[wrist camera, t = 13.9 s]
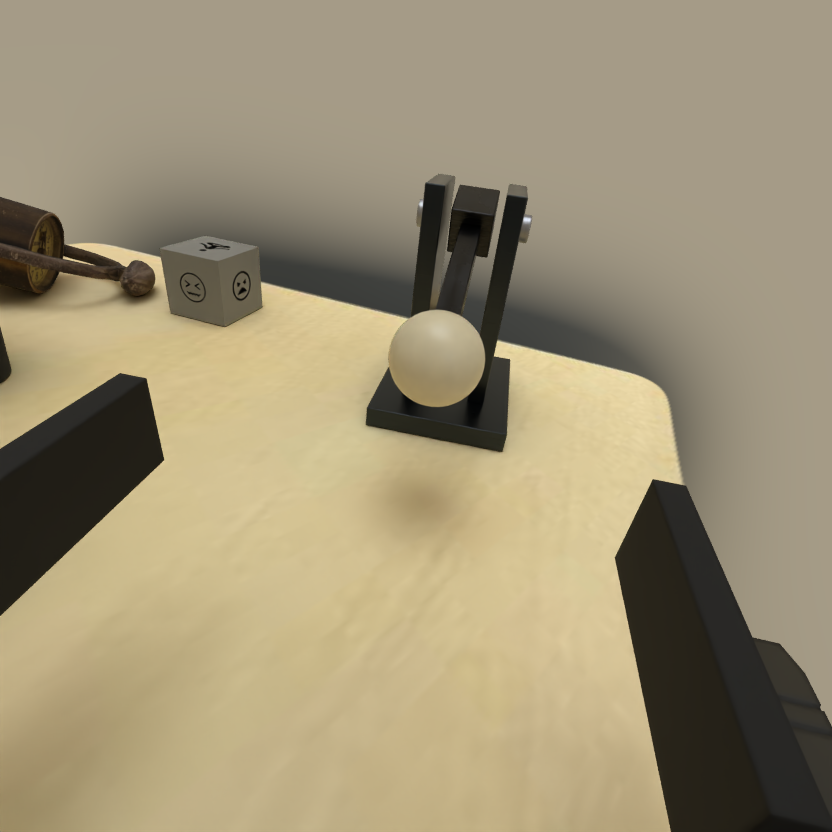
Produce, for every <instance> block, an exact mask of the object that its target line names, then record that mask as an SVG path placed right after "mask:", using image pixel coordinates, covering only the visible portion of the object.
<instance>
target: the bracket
mask: <svg viewBox="0 0 832 832" xmlns="http://www.w3.org/2000/svg"><path fill="white" fill-rule="evenodd" d="M454 184H455V176H451V175H444V174H438V175H436V176H435V177H434V178H432V179H431V180H429V181H428V182H426V183H425V192H424V199H421V200H420V202H419V205H418V210H417V220H416V223H417V226H418V227H420V237H419V246H418V255H417V264H416V273H415V282H414V291H413V300H412V310H411V317H413V316H414V315H416V314H419V313H421V312H425V311H429V310H435V309H436V305H437V302H438V299H439V292H440V285H441V278H442V271H443V263H444V256H445V249H446V241H447V235H448V227H449V220H450V213H451V206H452V199H453V198H452V197H453V191H454ZM527 200H528V196H527V187H526V186H520V185H513V184H510V185H509V188H508V193H507V198H506V203H505V209H504V213H503V219H502V223H501V229H500V234H499V239H498V244H497V249H496V254H495V259H494V265H493V270H492V275H491V280H490V285H489V290H488V295H487V301H486V306H485V311H484V317H483V321H482V327H481V331H480V338H481V340H482V343H483V346H484V351H485V365H484V370H483V374H482V377H481V379H480V381H479V383H478V384H477V386H476V387H475V389H474V390H473V391H472V392H471V393H470V394H469V395H468V396H467V397H465V398H464V399H463V400H461V401H459V402H457V403H454V404H452V405H449V406H444V407H430V406H425V405H421V404H418V403H416V402H414V401H412V400H411V399H409V398H408V397H407V396H405V395H404V394H403V393H402V392H401V391H400V389H399V388H398V387H397V385H396V384H395V382H394V380H393V378H392V376H391V372H390V369H389V367H388V369H387V371H386V373H385V375H384V377H383V379H382V381H381V382H380V384H379V386H378V388H377V390H376V392H375V394H374V396H373V398H372V399H371V401H370V403H369V405H368V407H367V415H366V425H370V426H375V427H380V428H385V429H390V430H395V431H400V432H405V433H410V434H415V435H421V436H426V437H431V438H436V439H441V440H446V441H451V442H456V443H461V444H466V445H471V446H476V447H481V448H486V449H491V450H496V451H501V452H502V451H503V447H504V443H505V440H506V436H507V417H508V396H509V375H510V359H505V358H499V357H494V353H495V348H496V343H497V339H498V334H499V330H500V325H501V320H502V315H503V311H504V306H505V302H506V297H507V292H508V288H509V283H510V279H511V274H512V270H513V265H514V260H515V255H516V251H517V246H518V242H521V243H526V242H527V239H528V236H529V231H530V227H531V221H532V216H531V215H526V214H525V209H526V205H527Z"/></svg>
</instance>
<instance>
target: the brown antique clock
mask: <svg viewBox="0 0 832 832" xmlns="http://www.w3.org/2000/svg"><path fill="white" fill-rule="evenodd" d="M63 256H65V257H68V258H72V259H75V260H79V261H83V262H87V263H90V264H93V265H88V264H83V263H79V262H74V261H70V260H65V259H63ZM95 265H96V266H95ZM59 272H63V273H69V274H74V275H79V276H85V277H91V278H98V279H110V280H114V281H120V282H121V286H122V288H123V289H124V290H125V291H126V292H128V293H130V294H132V295H135V296H139V295H143V294H145V293H146V292H148V291H149V290H150V289H152V287H153V285H154V284H155V274H154V271H153V269H152V268H151V267H150V266H149V265H147V264H146V263H144V262H142V261H138V260H135V261H132V262H131V263H130V264H129V266H128V267H124V266H122V265H121V264H120V263H119V262H116V261H114V260H111V259H109V258H106V257H103V256H101V255H98V254H95V253H92V252H89V251H85V250H82V249H79V248H75V247H72V246H68V245H64V231H63V228H62V224H61V222H60V220H59V218H58V217H57V216H56V215H55V214H53V213H51V212H48V211H44V210H41V209H38V208H35V207H31V206H28V205H25V204H22V203H18V202H15V201H12V200H9V199H5V198H2V197H0V284H2V285H6V286H10V287H14V288H18V289H23V290H27V291H31V292H35V293H43V292H46V291H47V290H48V289H50V288H51V286H52V285H53V283H54V282H55V280H56V278H57V276H58V274H59Z"/></svg>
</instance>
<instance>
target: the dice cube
mask: <svg viewBox="0 0 832 832" xmlns="http://www.w3.org/2000/svg"><path fill="white" fill-rule="evenodd" d="M160 254H161V260H162V266H163V272H164V278H165V283H166V289H167V295H168V301H169V307H170V312H171V313H173V314H177V315H181V316H185V317H188V318H192V319H196V320H200V321H204V322H208V323H212V324H216V325H220V326H224V327H226V326H228V325H229V324H231V323H233V322H235V321H237V320H239V319H241V318H243V317H245V316H246V315H248V314H250V313H252V312H254V311H256V310H258V309H260V308H262V294H261V279H260V264H259V249H258V247H256V246H251V245H246V244H241V243H236V242H232V241H227V240H222V239H217V238H213V237H208V236H203V237H199V238H195V239H192V240H188V241H184V242H181V243H177V244H173V245H170V246H166V247H162V248H160Z"/></svg>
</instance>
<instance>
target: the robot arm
mask: <svg viewBox="0 0 832 832" xmlns="http://www.w3.org/2000/svg"><path fill="white" fill-rule="evenodd" d="M163 461H164V457H163V452H162V448H161V443H160V439H159V434H158V429H157V425H156V420H155V416H154V411H153V406H152V402H151V397H150V393H149V388H148V384H147V379H146V378H142V377H137V376H131V375H126V374H121V373H120V374H118V375H116V376H115V377H113V378H112V379H110V380H108V381H107V382H105V383H104V384H102V385H101V386H99V387H97V388H96V389H94V390H93V391H91V392H90V393H88V394H86V395H85V396H83V397H82V398H80V399H78V400H77V401H75V402H74V403H72V404H71V405H69V406H67V407H66V408H64V409H63V410H61V411H59V412H58V413H56V414H55V415H53V416H52V417H50V418H48V419H47V420H45V421H44V422H42V423H40V424H39V425H37V426H36V427H34V428H33V429H31V430H29V431H28V432H26V433H25V434H23V435H22V436H20V437H18V438H17V439H15V440H14V441H12V442H10V443H9V444H7V445H6V446H4V447H3V448H1V449H0V616H1V615H2V614H3V613H4V612H5V611H6V610H7V609H8V608H9V607H10V606H11V605H12V604H13V603H14V602H15V601H17V600H18V599H19V598H20V597H21V596H22V595H23V594H24V593H25V592H26V591H27V590H28V589H29V588H30V587H31V586H32V585H33V584H34V583H35V582H36V581H38V580H39V579H40V578H41V577H42V576H43V575H44V574H45V573H46V572H47V571H48V570H49V569H50V568H51V567H52V566H53V565H54V564H55V563H56V562H58V561H59V560H60V559H61V558H62V557H63V556H64V555H65V554H66V553H67V552H68V551H69V550H70V549H71V548H72V547H73V546H74V545H75V544H76V543H78V542H79V541H80V540H81V539H82V538H83V537H84V536H85V535H86V534H87V533H88V532H89V531H90V530H91V529H92V528H93V527H94V526H95V525H96V524H97V523H99V522H100V521H101V520H102V519H103V518H104V517H105V516H106V515H107V514H108V513H109V512H110V511H111V510H112V509H113V508H114V507H115V506H116V505H117V504H119V503H120V502H121V501H122V500H123V499H124V498H125V497H126V496H127V495H128V494H129V493H130V492H131V491H132V490H133V489H134V488H135V487H136V486H137V485H139V484H140V483H141V482H142V481H143V480H144V479H145V478H146V477H147V476H148V475H149V474H150V473H151V472H152V471H153V470H154V469H155V468H156V467H157V466H158V465H160V464H161V463H162V462H163ZM615 561H616V565H617V570H618V575H619V580H620V585H621V590H622V595H623V600H624V605H625V609H626V614H627V619H628V624H629V629H630V634H631V639H632V644H633V648H634V653H635V658H636V663H637V668H638V673H639V678H640V683H641V688H642V692H643V697H644V702H645V707H646V712H647V717H648V722H649V727H650V731H651V736H652V741H653V746H654V751H655V756H656V761H657V766H658V771H659V775H660V780H661V785H662V790H663V795H664V800H665V805H666V810H667V814H668V819H669V824H670V829H671V832H832V726H831V724H830V722H829V720H828V718H827V716H826V714H825V712H824V711H821V709H820V706H821V704H820V702H819V700H818V698H817V696H816V694H815V692H814V690H813V688H812V686H811V685H810V682H809V680H808V678H807V676H806V675H805V673H804V672H803V671H802V669H801V668H800V667H799V666H798V665H797V663H796V662H795V661H794V660H793V659H792V658H791V657H790V655H789V654H788V653H787V652H786V651H785V649H784V648H783V647H782V646H781V645H780V644H779V643H774V642H770V641H766V640H761V639H757V638H752V636H751V633H750V631H749V629H748V626H747V624H746V622H745V620H744V617H743V615H742V612H741V610H740V608H739V606H738V603H737V601H736V599H735V597H734V594H733V592H732V590H731V587H730V585H729V583H728V581H727V578H726V576H725V574H724V571H723V569H722V567H721V565H720V562H719V560H718V558H717V556H716V553H715V551H714V549H713V546H712V544H711V542H710V539H709V537H708V535H707V533H706V531H705V528H704V526H703V523H702V521H701V519H700V517H699V514H698V512H697V510H696V508H695V505H694V503H693V501H692V499H691V496H690V494H689V491H688V489H687V487H686V486H684V485H679V484H674V483H669V482H664V481H659V480H654V479H653V480H652V482H651V484H650V486H649V488H648V491H647V493H646V495H645V497H644V499H643V501H642V503H641V505H640V507H639V509H638V511H637V513H636V515H635V517H634V519H633V521H632V524H631V526H630V528H629V530H628V532H627V534H626V536H625V538H624V540H623V542H622V544H621V546H620V548H619V550H618V552H617V554H616V557H615Z"/></svg>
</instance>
